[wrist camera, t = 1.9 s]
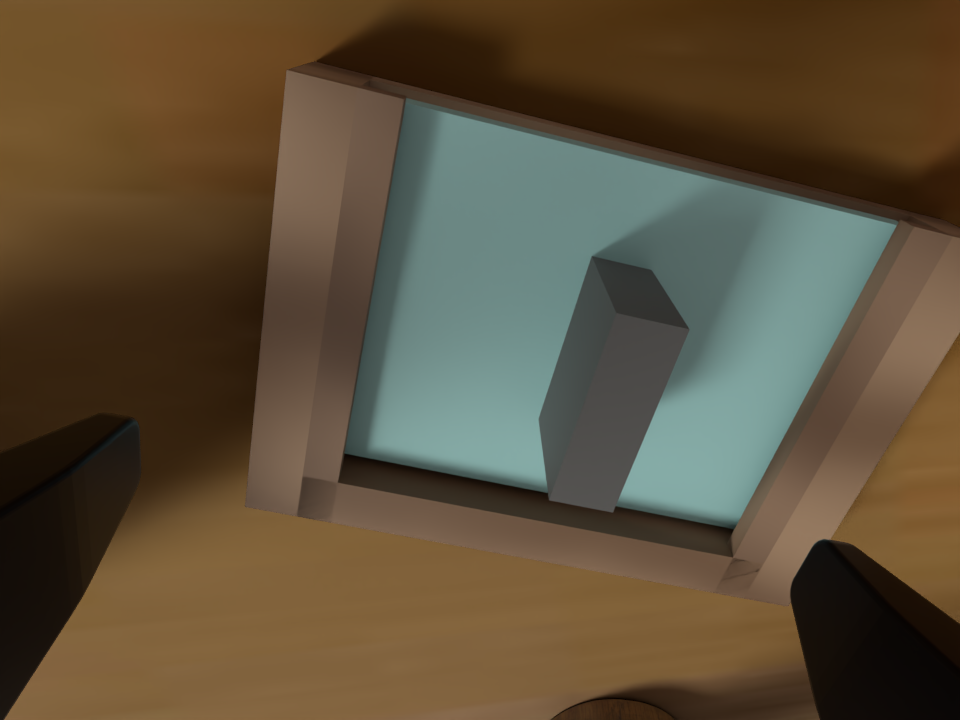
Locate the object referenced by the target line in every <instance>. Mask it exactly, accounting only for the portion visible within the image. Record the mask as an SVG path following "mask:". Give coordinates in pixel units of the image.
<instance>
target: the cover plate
mask: <svg viewBox="0 0 960 720" xmlns="http://www.w3.org/2000/svg"><path fill="white" fill-rule="evenodd" d="M897 224H898V221H896V220H892V219H888V218H884V217H880V216H876V215H872V214H868V213H864V212H860V211H856V210H852V209H848V208H844V207H840V206H836V205H832V204H828V203H824V202H820V201H816V200H812V199H808V198H804V197H800V196H796V195H792V194H788V193H784V192H780V191H776V190H772V189H768V188H764V187H760V186H756V185H752V184H748V183H744V182H740V181H736V180H732V179H728V178H724V177H720V176H716V175H712V174H708V173H704V172H700V171H696V170H692V169H688V168H684V167H680V166H676V165H672V164H668V163H664V162H660V161H656V160H652V159H648V158H644V157H640V156H636V155H632V154H628V153H624V152H620V151H616V150H612V149H608V148H604V147H600V146H596V145H592V144H588V143H584V142H580V141H576V140H572V139H568V138H564V137H560V136H556V135H552V134H548V133H544V132H540V131H536V130H532V129H528V128H524V127H520V126H516V125H512V124H508V123H504V122H500V121H496V120H492V119H488V118H484V117H480V116H476V115H472V114H468V113H464V112H460V111H456V110H452V109H448V108H444V107H440V106H436V105H432V104H428V103H424V102H420V101H416V100H412V99H408V98H406V104H405V109H404V115H403V121H402V127H401V132H400V138H399V144H398V150H397V155H396V161H395V167H394V173H393V178H392V184H391V190H390V196H389V201H388V207H387V213H386V218H385V224H384V230H383V236H382V241H381V247H380V253H379V259H378V264H377V270H376V276H375V282H374V287H373V293H372V299H371V305H370V310H369V316H368V322H367V328H366V333H365V339H364V345H363V351H362V356H361V362H360V368H359V374H358V379H357V385H356V391H355V396H354V402H353V408H352V414H351V419H350V425H349V431H348V437H347V442H346V448H345V454H350V455H355V456H360V457H365V458H370V459H376V460H381V461H386V462H391V463H396V464H401V465H406V466H412V467H417V468H422V469H427V470H432V471H437V472H443V473H448V474H453V475H458V476H463V477H468V478H473V479H479V480H484V481H489V482H494V483H499V484H504V485H509V486H515V487H520V488H525V489H530V490H535V491H540V492H545V493H548V496H549V500H550V501H555V502H561V503H566V504H571V505H576V506H581V507H586V508H592V509H597V510H602V511H607V512H612V513H613V511H614V509H615V506H618V507H623V508H628V509H633V510H638V511H643V512H648V513H654V514H659V515H664V516H669V517H674V518H679V519H684V520H690V521H695V522H700V523H705V524H710V525H715V526H721V527H726V528H731V529H735V527H736V525H737V524H738V522H739V520H740V518H741V516H742V514H743V512H744V510H745V509H746V507H747V505H748V503H749V501H750V499H751V497H752V496H753V494H754V492H755V490H756V488H757V486H758V484H759V482H760V481H761V479H762V477H763V475H764V473H765V471H766V469H767V467H768V466H769V464H770V462H771V460H772V458H773V456H774V454H775V452H776V451H777V449H778V447H779V445H780V443H781V441H782V439H783V438H784V436H785V434H786V432H787V430H788V428H789V426H790V424H791V423H792V421H793V419H794V417H795V415H796V413H797V411H798V409H799V408H800V406H801V404H802V402H803V400H804V398H805V396H806V394H807V393H808V391H809V389H810V387H811V385H812V383H813V381H814V380H815V378H816V376H817V374H818V372H819V370H820V368H821V366H822V365H823V363H824V361H825V359H826V357H827V355H828V353H829V351H830V350H831V348H832V346H833V344H834V342H835V340H836V338H837V337H838V335H839V333H840V331H841V329H842V327H843V325H844V323H845V322H846V320H847V318H848V316H849V314H850V312H851V310H852V308H853V307H854V305H855V303H856V301H857V299H858V297H859V295H860V293H861V292H862V290H863V288H864V286H865V284H866V282H867V280H868V279H869V277H870V275H871V273H872V271H873V269H874V267H875V265H876V264H877V262H878V260H879V258H880V256H881V254H882V252H883V250H884V249H885V247H886V245H887V243H888V241H889V239H890V237H891V235H892V234H893V232H894V230H895V228H896V226H897Z"/></svg>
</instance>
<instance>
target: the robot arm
mask: <svg viewBox="0 0 960 720" xmlns="http://www.w3.org/2000/svg"><path fill="white" fill-rule="evenodd" d="M140 475H141V454H140V429H139V425H138V422H137V421H136V420H135V419H134V418H132V417H128V416H122V415H116V414H111V413H99V414H96V415H94V416H91V417H89V418H86V419H84V420H81V421H78V422H76V423H73V424H71V425H68V426H66V427H63V428H61V429H58V430H56V431H53V432H51V433H48V434H46V435H43V436H41V437H38V438H36V439H33V440H31V441H28V442H26V443H23V444H21V445H18V446H16V447H13V448H10V449H8V450H5V451H3V452H0V720H4V719H5V717H6V716H7V714H8V713H9V711H10V709H11V708H12V706H13V705H14V703H15V702H16V700H17V699H18V697H19V696H20V694H21V692H22V691H23V689H24V688H25V686H26V685H27V683H28V682H29V680H30V678H31V677H32V675H33V674H34V672H35V671H36V669H37V668H38V666H39V665H40V663H41V661H42V660H43V658H44V657H45V655H46V654H47V652H48V651H49V649H50V647H51V646H52V644H53V643H54V641H55V640H56V638H57V637H58V635H59V634H60V632H61V630H62V629H63V627H64V626H65V624H66V623H67V621H68V620H69V618H70V616H71V615H72V613H73V612H74V610H75V608H76V607H77V605H78V603H79V602H80V600H81V599H82V597H83V595H84V593H85V591H86V590H87V588H88V586H89V584H90V582H91V580H92V578H93V576H94V574H95V572H96V570H97V568H98V566H99V564H100V562H101V560H102V558H103V556H104V554H105V552H106V550H107V548H108V546H109V544H110V542H111V540H112V538H113V536H114V534H115V532H116V530H117V528H118V526H119V524H120V522H121V520H122V518H123V516H124V514H125V512H126V510H127V508H128V506H129V504H130V502H131V500H132V498H133V496H134V494H135V492H136V489H137V487H138V484H139V480H140ZM790 599H791V604H792V608H793V613H794V617H795V621H796V625H797V630H798V634H799V638H800V642H801V647H802V651H803V655H804V659H805V664H806V668H807V672H808V676H809V681H810V685H811V689H812V693H813V697H814V701H815V704H816V708H817V711H818V714H819V718H820V720H960V624H959V623H958V622H956V621H955V620H954V619H952V618H951V617H950V616H948V615H947V614H946V613H944V612H943V611H942V610H940V609H939V608H938V607H936V606H935V605H934V604H932V603H931V602H929V601H928V600H927V599H925V598H924V597H923V596H921V595H920V594H919V593H917V592H916V591H915V590H913V589H912V588H911V587H909V586H908V585H907V584H905V583H904V582H902V581H901V580H900V579H898V578H897V577H896V576H894V575H893V574H892V573H890V572H889V571H888V570H886V569H885V568H884V567H882V566H881V565H880V564H878V563H877V562H875V561H874V560H873V559H871V558H870V557H869V556H867V555H866V554H865V553H863V552H862V551H861V550H859V549H858V548H857V547H855V546H854V545H852V544H849V543H845V542H840V541H834V540H828V539H822V540H819V541H817V542H816V543H814V545H813V546H812V548H811V549H810V551H809V553H808V554H807V556H806V558H805V560H804V561H803V563H802V565H801V567H800V568H799V570H798V572H797V573H796V575H795V577H794V579H793V581H792V584H791V588H790Z"/></svg>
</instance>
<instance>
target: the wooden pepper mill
mask: <svg viewBox="0 0 960 720" xmlns="http://www.w3.org/2000/svg"><path fill="white" fill-rule="evenodd" d="M552 720H675V719H674V718H673V717H671V716H670V715H669V714H668V713H666V712H664V711H662V710H661V709H659V708H656V707H654V706H651V705H648V704H645V703H642V702H637V701H630V700H623V699H605V700H595V701H591V702H587V703H583V704H580V705H577V706H574V707H572V708H570V709H568V710H566V711H564V712H562V713H561V714H559V715H558V716H556V717H555V718H553V719H552Z"/></svg>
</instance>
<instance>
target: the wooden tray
mask: <svg viewBox="0 0 960 720" xmlns="http://www.w3.org/2000/svg"><path fill="white" fill-rule="evenodd" d="M406 98H408V99H412V100H416V101H420V102H424V103H428V104H432V105H436V106H440V107H444V108H448V109H452V110H456V111H460V112H464V113H468V114H472V115H476V116H480V117H484V118H488V119H492V120H496V121H500V122H504V123H508V124H512V125H516V126H520V127H524V128H528V129H532V130H536V131H540V132H544V133H548V134H552V135H556V136H560V137H564V138H568V139H572V140H576V141H580V142H584V143H588V144H592V145H596V146H600V147H604V148H608V149H612V150H616V151H620V152H624V153H628V154H632V155H636V156H640V157H644V158H648V159H652V160H656V161H660V162H664V163H668V164H672V165H676V166H680V167H684V168H688V169H692V170H696V171H700V172H704V173H708V174H712V175H716V176H720V177H724V178H728V179H732V180H736V181H740V182H744V183H748V184H752V185H756V186H760V187H764V188H768V189H772V190H776V191H780V192H784V193H788V194H792V195H796V196H800V197H804V198H808V199H812V200H816V201H820V202H824V203H828V204H832V205H836V206H840V207H844V208H848V209H852V210H856V211H860V212H864V213H868V214H872V215H876V216H880V217H884V218H888V219H892V220H896V221H898V224H897V226H896V228H895V230H894V232H893V234H892V235H891V237H890V239H889V241H888V243H887V245H886V247H885V249H884V250H883V252H882V254H881V256H880V258H879V260H878V262H877V264H876V265H875V267H874V269H873V271H872V273H871V275H870V277H869V279H868V280H867V282H866V284H865V286H864V288H863V290H862V292H861V293H860V295H859V297H858V299H857V301H856V303H855V305H854V307H853V308H852V310H851V312H850V314H849V316H848V318H847V320H846V322H845V323H844V325H843V327H842V329H841V331H840V333H839V335H838V337H837V338H836V340H835V342H834V344H833V346H832V348H831V350H830V351H829V353H828V355H827V357H826V359H825V361H824V363H823V365H822V366H821V368H820V370H819V372H818V374H817V376H816V378H815V380H814V381H813V383H812V385H811V387H810V389H809V391H808V393H807V394H806V396H805V398H804V400H803V402H802V404H801V406H800V408H799V409H798V411H797V413H796V415H795V417H794V419H793V421H792V423H791V424H790V426H789V428H788V430H787V432H786V434H785V436H784V438H783V439H782V441H781V443H780V445H779V447H778V449H777V451H776V452H775V454H774V456H773V458H772V460H771V462H770V464H769V466H768V467H767V469H766V471H765V473H764V475H763V477H762V479H761V481H760V482H759V484H758V486H757V488H756V490H755V492H754V494H753V496H752V497H751V499H750V501H749V503H748V505H747V507H746V509H745V510H744V512H743V514H742V516H741V518H740V520H739V522H738V524H737V525H736V527H735V529H731V528H726V527H721V526H715V525H710V524H705V523H700V522H695V521H690V520H684V519H679V518H674V517H669V516H664V515H659V514H654V513H648V512H643V511H638V510H633V509H628V508H623V507H618V506H615V509H614V511H613V513H612V512H607V511H602V510H597V509H592V508H586V507H581V506H576V505H571V504H566V503H561V502H555V501H550V500H549V496H548V493H545V492H540V491H535V490H530V489H525V488H520V487H515V486H509V485H504V484H499V483H494V482H489V481H484V480H479V479H473V478H468V477H463V476H458V475H453V474H448V473H443V472H437V471H432V470H427V469H422V468H417V467H412V466H406V465H401V464H396V463H391V462H386V461H381V460H376V459H370V458H365V457H360V456H355V455H350V454H345V448H346V442H347V437H348V431H349V425H350V419H351V414H352V408H353V402H354V396H355V391H356V385H357V379H358V374H359V368H360V362H361V356H362V351H363V345H364V339H365V333H366V328H367V322H368V316H369V310H370V305H371V299H372V293H373V287H374V282H375V276H376V270H377V264H378V259H379V253H380V247H381V241H382V236H383V230H384V224H385V218H386V213H387V207H388V201H389V196H390V190H391V184H392V178H393V173H394V167H395V161H396V155H397V150H398V144H399V138H400V132H401V127H402V121H403V115H404V109H405V104H406ZM959 333H960V227H958V226H956V225H954V224H951V223H949V222H947V221H945V220H942V219H938V218H934V217H930V216H926V215H922V214H918V213H914V212H910V211H906V210H902V209H898V208H894V207H890V206H886V205H882V204H878V203H874V202H870V201H866V200H862V199H858V198H854V197H850V196H846V195H842V194H838V193H834V192H830V191H826V190H823V189H819V188H815V187H811V186H807V185H803V184H799V183H795V182H791V181H787V180H783V179H779V178H775V177H771V176H767V175H763V174H759V173H755V172H751V171H747V170H743V169H739V168H735V167H731V166H727V165H723V164H719V163H715V162H711V161H707V160H704V159H700V158H696V157H692V156H688V155H684V154H680V153H676V152H672V151H668V150H664V149H660V148H656V147H652V146H648V145H644V144H640V143H636V142H632V141H628V140H624V139H620V138H616V137H612V136H608V135H604V134H600V133H596V132H592V131H588V130H584V129H581V128H577V127H573V126H569V125H565V124H561V123H557V122H553V121H549V120H545V119H541V118H537V117H533V116H529V115H525V114H521V113H517V112H513V111H509V110H505V109H501V108H497V107H493V106H489V105H485V104H481V103H477V102H473V101H469V100H465V99H461V98H458V97H454V96H450V95H446V94H442V93H438V92H434V91H430V90H426V89H422V88H418V87H414V86H410V85H406V84H402V83H398V82H394V81H390V80H386V79H382V78H378V77H374V76H370V75H366V74H362V73H358V72H354V71H350V70H346V69H342V68H338V67H335V66H331V65H327V64H323V63H319V62H315V61H314V62H311V63H308V64H305V65H301V66H298V67H295V68H291V69H288V70H287V72H286V82H285V93H284V103H283V114H282V124H281V135H280V145H279V156H278V166H277V177H276V187H275V198H274V208H273V219H272V229H271V240H270V250H269V261H268V271H267V282H266V292H265V303H264V313H263V324H262V334H261V345H260V355H259V366H258V376H257V387H256V398H255V408H254V419H253V429H252V440H251V450H250V461H249V471H248V482H247V492H246V503H245V507H249V508H254V509H260V510H265V511H271V512H276V513H281V514H287V515H292V516H298V517H303V518H309V519H314V520H320V521H325V522H330V523H336V524H341V525H347V526H352V527H358V528H363V529H369V530H374V531H380V532H385V533H390V534H396V535H401V536H407V537H412V538H418V539H423V540H429V541H434V542H440V543H445V544H450V545H456V546H461V547H467V548H472V549H478V550H483V551H489V552H494V553H499V554H505V555H510V556H516V557H521V558H527V559H532V560H538V561H543V562H549V563H554V564H559V565H565V566H570V567H576V568H581V569H587V570H592V571H598V572H603V573H608V574H614V575H619V576H625V577H630V578H636V579H641V580H647V581H652V582H658V583H663V584H668V585H674V586H679V587H685V588H690V589H696V590H701V591H707V592H712V593H717V594H723V595H728V596H734V597H739V598H745V599H750V600H756V601H761V602H767V603H772V604H777V605H783V606H789V604H790V603H791V599H790V588H791V584H792V581H793V579H794V577H795V575H796V573H797V572H798V570H799V568H800V567H801V565H802V563H803V561H804V560H805V558H806V556H807V554H808V553H809V551H810V549H811V548H812V546H813V545H814V543H816V542H817V541H819V540H822V539H828V540H830V539H831V537H832V536H833V534H834V532H835V531H836V529H837V528H838V526H839V524H840V523H841V521H842V520H843V518H844V516H845V515H846V513H847V512H848V510H849V508H850V507H851V505H852V504H853V502H854V500H855V499H856V497H857V496H858V494H859V492H860V491H861V489H862V488H863V486H864V484H865V483H866V481H867V480H868V478H869V476H870V475H871V473H872V472H873V470H874V468H875V467H876V465H877V464H878V462H879V460H880V459H881V457H882V456H883V454H884V453H885V451H886V449H887V448H888V446H889V445H890V443H891V441H892V440H893V438H894V437H895V435H896V433H897V432H898V430H899V429H900V427H901V425H902V424H903V422H904V421H905V419H906V417H907V416H908V414H909V413H910V411H911V409H912V408H913V406H914V405H915V403H916V401H917V400H918V398H919V397H920V395H921V393H922V392H923V390H924V389H925V387H926V385H927V384H928V382H929V381H930V379H931V377H932V376H933V374H934V373H935V371H936V369H937V368H938V366H939V365H940V363H941V361H942V360H943V358H944V357H945V355H946V353H947V352H948V350H949V349H950V347H951V345H952V344H953V342H954V341H955V339H956V337H957V336H958V334H959Z"/></svg>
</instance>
